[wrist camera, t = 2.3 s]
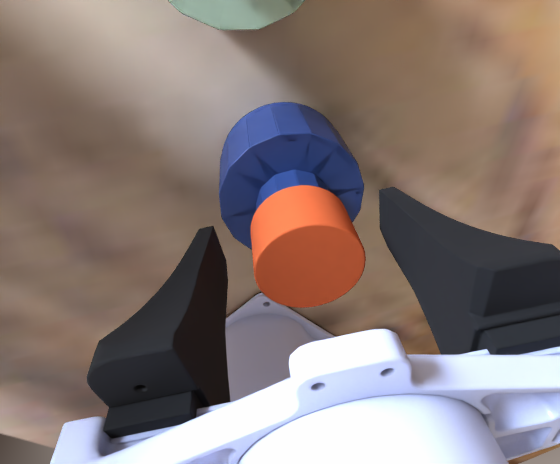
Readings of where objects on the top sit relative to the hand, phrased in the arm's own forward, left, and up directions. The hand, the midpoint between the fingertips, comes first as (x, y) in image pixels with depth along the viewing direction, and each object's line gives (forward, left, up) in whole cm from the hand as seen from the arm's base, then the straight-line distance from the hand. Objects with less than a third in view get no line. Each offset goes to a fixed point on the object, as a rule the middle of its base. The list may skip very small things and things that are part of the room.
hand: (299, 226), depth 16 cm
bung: (0, 0, -1) cm, 1 cm away
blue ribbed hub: (0, 0, -6) cm, 6 cm away
